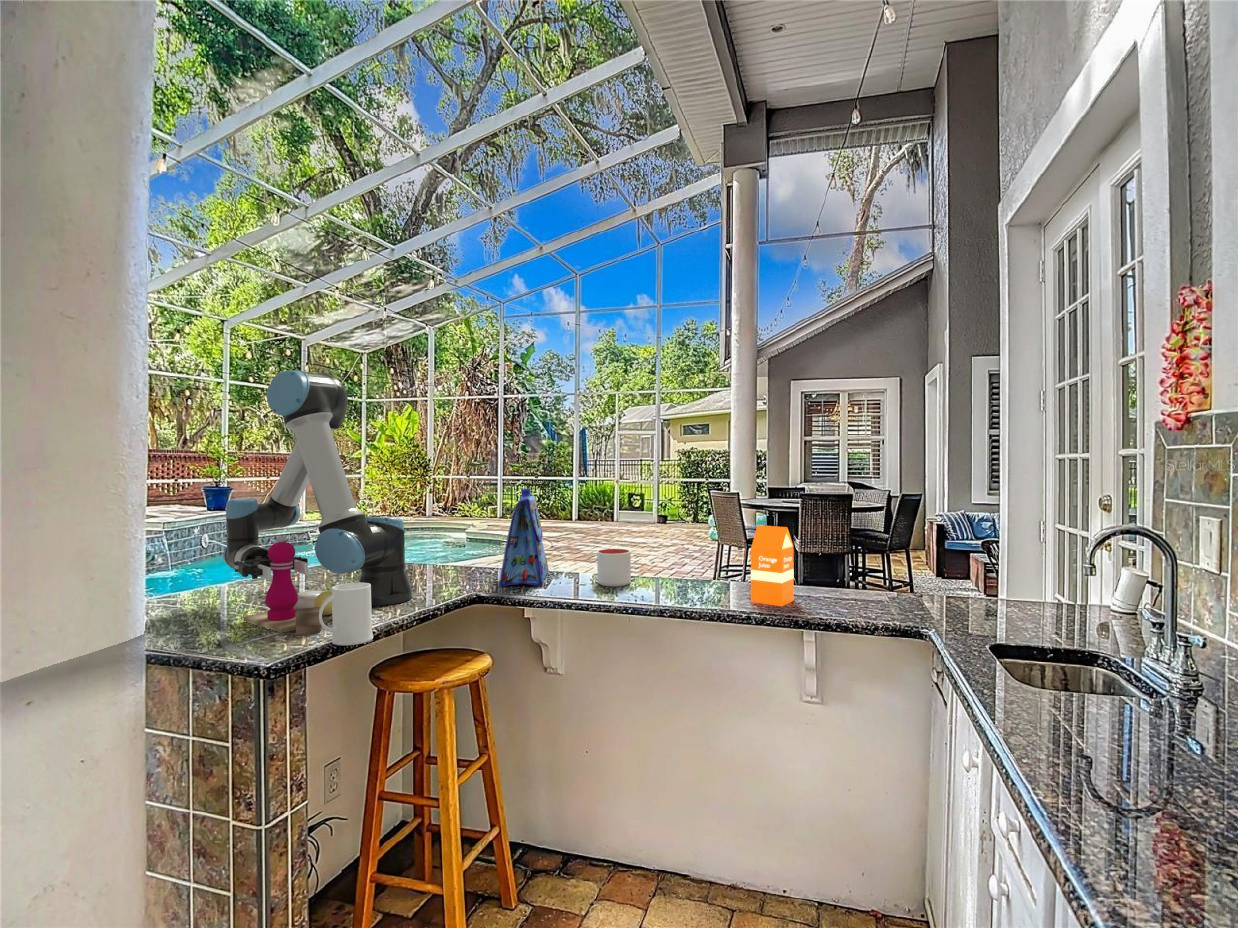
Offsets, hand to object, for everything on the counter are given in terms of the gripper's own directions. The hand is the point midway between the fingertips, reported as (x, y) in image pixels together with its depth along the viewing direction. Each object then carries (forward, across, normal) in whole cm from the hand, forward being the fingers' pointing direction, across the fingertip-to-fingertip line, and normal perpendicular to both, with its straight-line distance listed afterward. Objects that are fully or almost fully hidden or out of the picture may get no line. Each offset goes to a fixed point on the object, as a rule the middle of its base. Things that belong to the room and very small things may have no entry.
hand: (288, 571), depth 162 cm
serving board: (-5, 0, -13) cm, 14 cm away
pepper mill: (-5, 0, -12) cm, 13 cm away
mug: (+23, -4, -13) cm, 27 cm away
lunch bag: (-1, -71, -14) cm, 73 cm away
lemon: (-4, -11, -13) cm, 17 cm away
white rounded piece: (-18, -11, -13) cm, 25 cm away
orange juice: (+72, -97, -13) cm, 122 cm away
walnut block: (+8, -1, -13) cm, 16 cm away
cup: (+25, -85, -14) cm, 89 cm away
